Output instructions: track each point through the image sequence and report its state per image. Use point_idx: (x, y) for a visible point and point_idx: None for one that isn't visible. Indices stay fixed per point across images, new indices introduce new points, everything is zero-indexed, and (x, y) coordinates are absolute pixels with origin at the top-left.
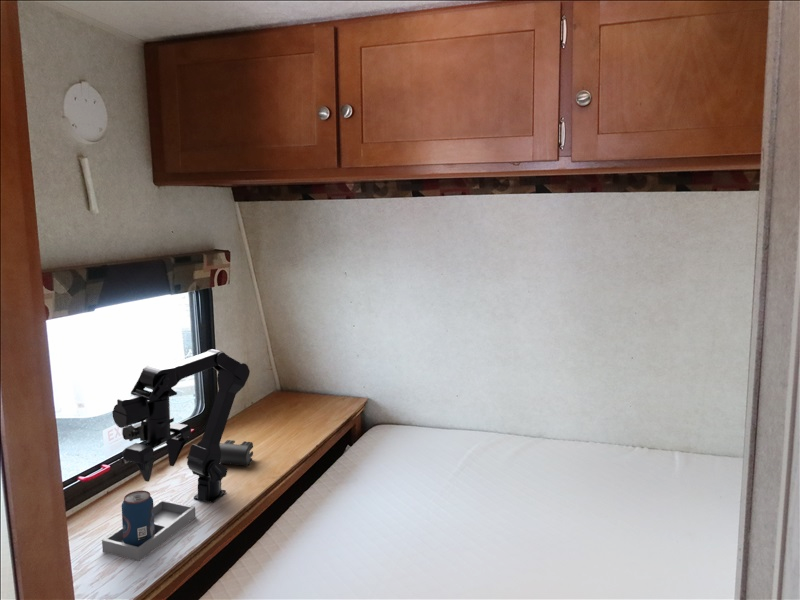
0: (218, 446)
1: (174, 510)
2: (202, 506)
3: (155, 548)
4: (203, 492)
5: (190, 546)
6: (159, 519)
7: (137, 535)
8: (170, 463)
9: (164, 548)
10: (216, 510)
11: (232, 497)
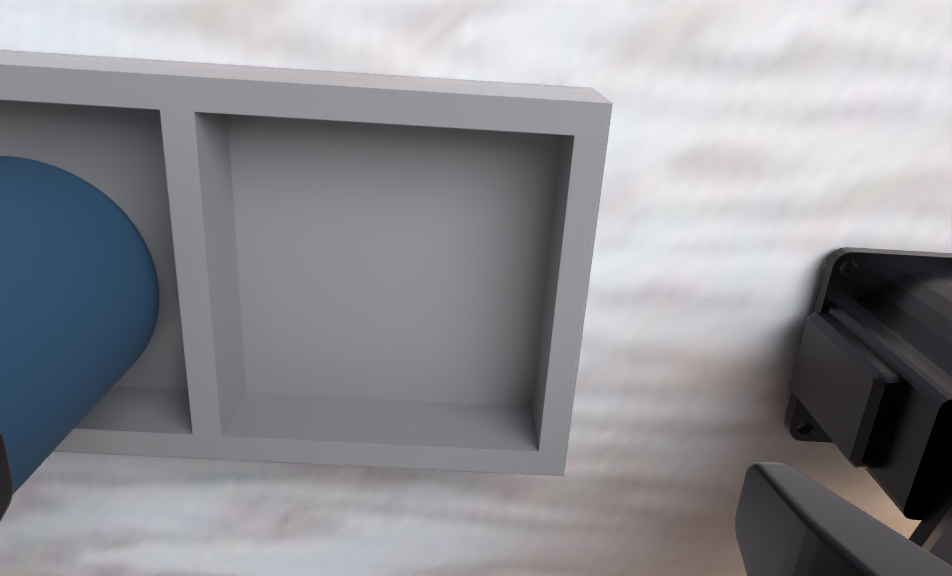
0: None
1: (549, 258)
2: (719, 381)
3: None
4: (824, 408)
5: (221, 569)
6: (400, 203)
7: None
8: (767, 507)
9: None
10: (682, 500)
11: (893, 510)
